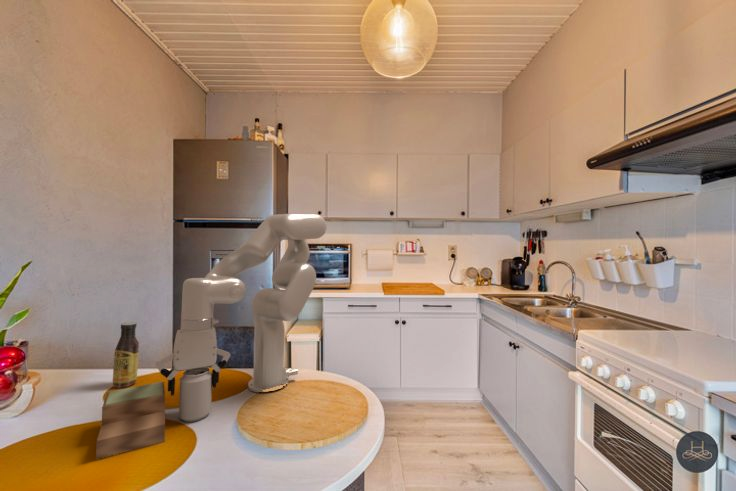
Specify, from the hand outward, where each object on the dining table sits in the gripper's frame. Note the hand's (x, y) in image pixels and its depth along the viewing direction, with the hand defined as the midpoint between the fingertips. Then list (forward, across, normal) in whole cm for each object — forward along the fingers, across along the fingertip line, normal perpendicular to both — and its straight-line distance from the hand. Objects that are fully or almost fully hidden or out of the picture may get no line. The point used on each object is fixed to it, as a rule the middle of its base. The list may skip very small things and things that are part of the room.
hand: (193, 389), depth 83 cm
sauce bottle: (+7, +16, -33) cm, 38 cm away
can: (+7, -1, 0) cm, 7 cm away
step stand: (+7, +12, +1) cm, 14 cm away
